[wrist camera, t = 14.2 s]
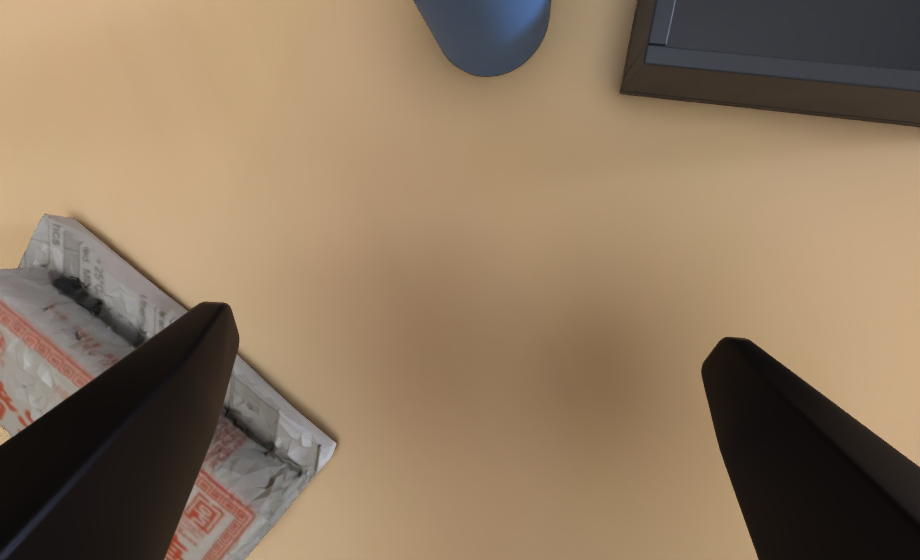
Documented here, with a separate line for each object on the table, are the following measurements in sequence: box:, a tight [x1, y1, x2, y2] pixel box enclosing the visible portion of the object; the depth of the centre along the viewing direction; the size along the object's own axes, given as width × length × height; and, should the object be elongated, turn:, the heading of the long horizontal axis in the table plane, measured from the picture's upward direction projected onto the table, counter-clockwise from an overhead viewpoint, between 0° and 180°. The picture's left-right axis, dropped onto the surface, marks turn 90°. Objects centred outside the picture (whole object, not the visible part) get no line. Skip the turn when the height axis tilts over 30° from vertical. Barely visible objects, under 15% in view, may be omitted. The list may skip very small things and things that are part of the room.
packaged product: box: [0, 214, 337, 560], centre depth 22 cm, size 18×5×10 cm
